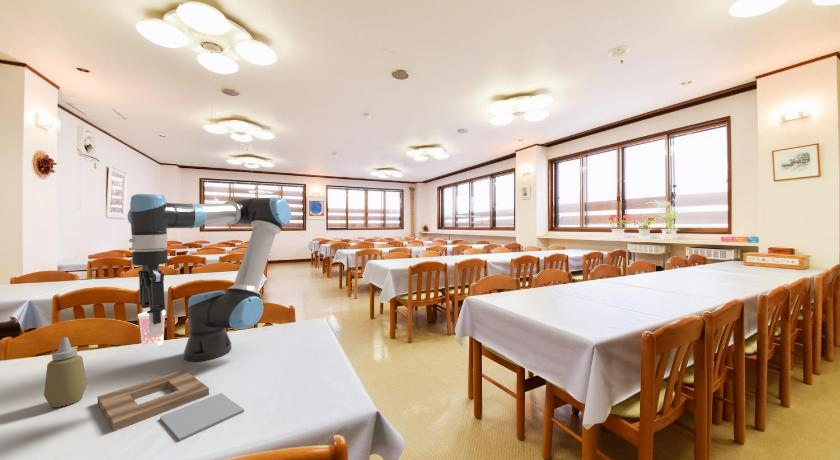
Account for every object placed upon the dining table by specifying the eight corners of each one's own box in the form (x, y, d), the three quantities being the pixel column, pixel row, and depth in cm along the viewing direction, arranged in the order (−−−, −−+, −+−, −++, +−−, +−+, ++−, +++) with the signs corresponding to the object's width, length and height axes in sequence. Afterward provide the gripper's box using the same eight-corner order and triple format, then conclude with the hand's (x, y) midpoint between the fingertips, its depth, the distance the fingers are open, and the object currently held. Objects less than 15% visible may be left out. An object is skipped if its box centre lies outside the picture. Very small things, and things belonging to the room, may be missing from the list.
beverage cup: (171, 342, 91) (170, 293, 91) (145, 350, 86) (144, 298, 86) (159, 339, 94) (158, 291, 94) (133, 346, 88) (132, 296, 88)
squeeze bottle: (65, 395, 93) (63, 333, 92) (95, 393, 93) (93, 332, 93) (34, 411, 85) (32, 344, 84) (67, 410, 85) (65, 342, 85)
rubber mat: (160, 419, 81) (160, 416, 81) (221, 394, 92) (221, 392, 92) (179, 441, 72) (179, 438, 72) (243, 411, 84) (243, 409, 84)
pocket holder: (97, 403, 88) (97, 396, 88) (184, 375, 104) (183, 369, 104) (114, 431, 76) (113, 422, 76) (208, 394, 92) (208, 387, 92)
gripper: (123, 249, 92) (126, 329, 93) (142, 252, 81) (145, 344, 81) (156, 247, 98) (159, 323, 99) (178, 250, 87) (180, 335, 87)
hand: (152, 332), depth 90 cm, fingers closed on beverage cup, 6 cm apart
